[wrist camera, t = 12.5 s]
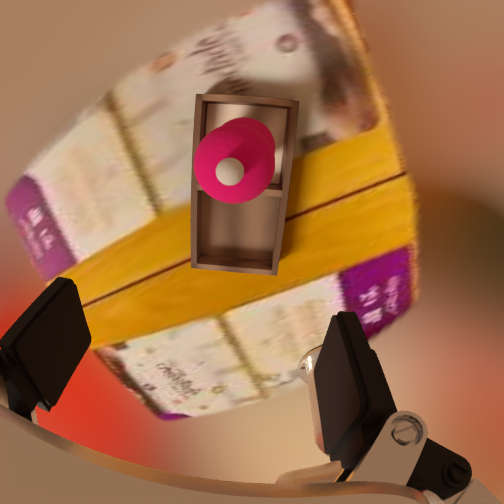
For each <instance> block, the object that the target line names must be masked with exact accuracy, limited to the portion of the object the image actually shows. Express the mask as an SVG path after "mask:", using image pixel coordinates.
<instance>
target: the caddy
mask: <svg viewBox="0 0 504 504" xmlns="http://www.w3.org/2000/svg"><path fill="white" fill-rule="evenodd" d="M298 108H299V101H293V100H285V99H276V98H267V97H256V96H242V95H222V94H196V101H195V115H194V132H193V152H192V180H191V268H197V269H207V270H218V271H228V272H240V273H251V274H263V275H275V276H277V272H278V265H279V258H280V251H281V244H282V237H283V230H284V223H285V216H286V208H287V201H288V193H289V185H290V178H291V169H292V161H293V153H294V144H295V136H296V127H297V118H298ZM240 117H248V118H253V119H255V120H258V121H260V122H261V123H263V124H264V125H265V126H266V127H267V128H268V129H269V130H270V132H271V133H272V135H273V138H274V141H275V155H274V156H275V171H274V175H273V178H272V180H271V182H270V184H269V185H268V187H267V188H266V189H265V190H264V192H262V193H261V194H260V195H259V196H258V197H256V198H254V199H252V200H250V201H247V202H244V203H237V204H231V203H225V202H222V201H219V200H216V199H214V198H212V197H211V196H210V195H208V194H207V193H206V192H205V191H204V190H203V189H202V188H201V186H200V185H199V183H198V181H197V178H196V176H195V172H194V156H195V153H196V150H197V147H198V145H199V143H200V142H201V141H202V140H203V138H204V137H205V136H206V135H207V134H208V133H209V132H211V131H212V130H214V129H216V128H218V127H220V126H222V125H223V124H224V123H226V122H228V121H229V120H232V119H235V118H240Z"/></svg>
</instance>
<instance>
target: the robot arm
mask: <svg viewBox="0 0 504 504" xmlns="http://www.w3.org/2000/svg"><path fill="white" fill-rule="evenodd" d="M90 344H91V334H90V331H89V328H88V325H87V322H86V319H85V315H84V312H83V308H82V305H81V301H80V297H79V294H78V290H77V286H76V284H74V282H73V280H72V279H68V278H63V277H58V278H56V279H55V280H54V281H53V282H52V283H51V284H50V285H49V286H48V287H47V288H46V289H45V290H44V291H43V292H42V293H41V295H40V296H39V297H38V298H37V299H36V300H35V301H34V302H33V303H32V304H31V305H30V306H29V307H28V308H27V310H25V312H24V313H23V314H22V315H21V316H20V317H19V318H18V319H17V321H16V322H15V323H14V324H13V325H12V326H11V327H10V329H9V330H8V331H7V332H6V333H5V334H4V336H3V337H2V338H1V339H0V347H1V350H0V504H501V502H500V501H499V500H498V499H497V498H496V497H495V496H494V495H493V494H492V493H491V492H489V490H487V488H486V487H485V486H484V485H483V484H482V483H481V482H480V481H479V480H478V479H477V478H475V479H472V478H471V476H472V470H471V467H470V464H469V463H468V461H467V460H466V459H465V458H463V457H462V456H460V455H458V454H456V453H454V452H452V451H451V450H448V449H447V448H445V447H443V446H441V445H439V444H438V443H436V442H434V441H432V440H430V439H429V438H427V434H428V432H427V427H426V424H425V422H424V421H423V420H422V419H421V417H419V416H418V415H416V414H415V413H412V412H409V411H399V412H397V409H396V406H395V403H394V400H393V398H392V395H391V392H390V389H389V387H388V383H387V381H386V378H385V375H384V373H383V370H382V367H381V365H380V362H379V360H378V357H377V354H376V353H375V351H374V350H373V349H370V346H369V344H368V341H367V338H366V336H365V333H364V331H363V328H362V326H361V324H360V321H359V319H358V316H357V314H356V313H355V312H344V311H340V312H338V314H337V315H333V316H332V318H331V321H330V324H329V327H328V330H327V333H326V336H325V339H324V342H323V345H322V346H321V347H318V348H316V349H314V350H312V351H310V352H309V353H307V354H306V355H305V356H304V357H303V358H302V360H301V361H300V363H299V366H298V372H299V376H300V378H301V379H302V380H303V381H304V382H306V383H308V387H309V395H310V402H311V411H312V419H313V426H314V435H315V441H316V444H317V446H318V447H319V449H320V450H321V451H322V452H323V453H325V454H326V455H327V456H329V457H330V461H332V462H330V463H327V464H324V465H319V466H315V467H310V468H305V469H300V470H294V471H290V472H286V473H284V474H282V475H280V476H279V477H278V479H277V480H276V483H275V484H265V483H243V482H231V481H221V480H212V479H205V478H199V477H192V476H187V475H181V474H176V473H171V472H166V471H162V470H157V469H153V468H149V467H145V466H141V465H138V464H134V463H131V462H127V461H124V460H121V459H118V458H114V457H111V456H108V455H106V454H103V453H100V452H97V451H95V450H92V449H89V448H87V447H84V446H82V445H79V444H77V443H74V442H72V441H70V440H67V439H65V438H63V437H61V436H58V435H56V434H54V433H52V432H50V431H48V430H46V429H44V428H42V427H40V426H38V421H37V417H36V412H35V407H36V405H38V407H40V408H42V409H43V410H46V411H48V412H49V411H50V410H51V408H52V406H55V405H56V403H57V402H58V399H59V398H60V396H61V394H62V392H63V390H64V388H65V387H66V385H67V383H68V381H69V380H70V378H71V376H72V374H73V373H74V371H75V369H76V367H77V365H78V364H79V362H80V361H81V359H82V357H83V355H84V354H85V352H86V351H87V349H88V347H89V346H90Z"/></svg>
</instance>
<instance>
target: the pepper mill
mask: <svg viewBox="0 0 504 504" xmlns="http://www.w3.org/2000/svg"><path fill="white" fill-rule="evenodd" d="M274 155H275V141H274V138H273V135H272V133H271V132H270V130H269V129H268V128H267V127H266V126H265V125H264V124H263V123H261V122H260V121H258V120H255V119H253V118H248V117H240V118H235V119H232V120H229V121H228V122H226V123H224V124H223V125H222V126H220V127H218V128H216V129H214V130H212V131H211V132H209V133H208V134H207V135H206V136H205V137H204V138H203V140H202V141H201V142H200V143H199V145H198V147H197V150H196V153H195V156H194V172H195V176H196V178H197V181H198V183H199V185H200V186H201V188H202V189H203V190H204V191H205V192H206V193H207V194H208V195H210V196H211V197H212V198H214V199H216V200H219V201H222V202H225V203H231V204H237V203H244V202H247V201H250V200H252V199H254V198H256V197H258V196H259V195H260V194H261V193H262V192H264V190H265V189H266V188H267V187H268V185H269V184H270V182H271V180H272V178H273V175H274V171H275V156H274Z"/></svg>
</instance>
